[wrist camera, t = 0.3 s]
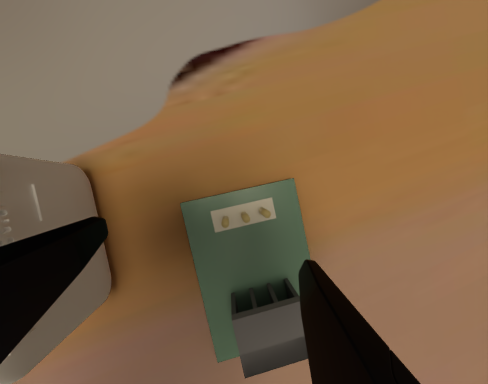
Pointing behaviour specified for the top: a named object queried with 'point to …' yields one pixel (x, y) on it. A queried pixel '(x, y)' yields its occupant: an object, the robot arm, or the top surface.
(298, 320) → the plug
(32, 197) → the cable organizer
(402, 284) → the top surface
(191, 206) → the header board
